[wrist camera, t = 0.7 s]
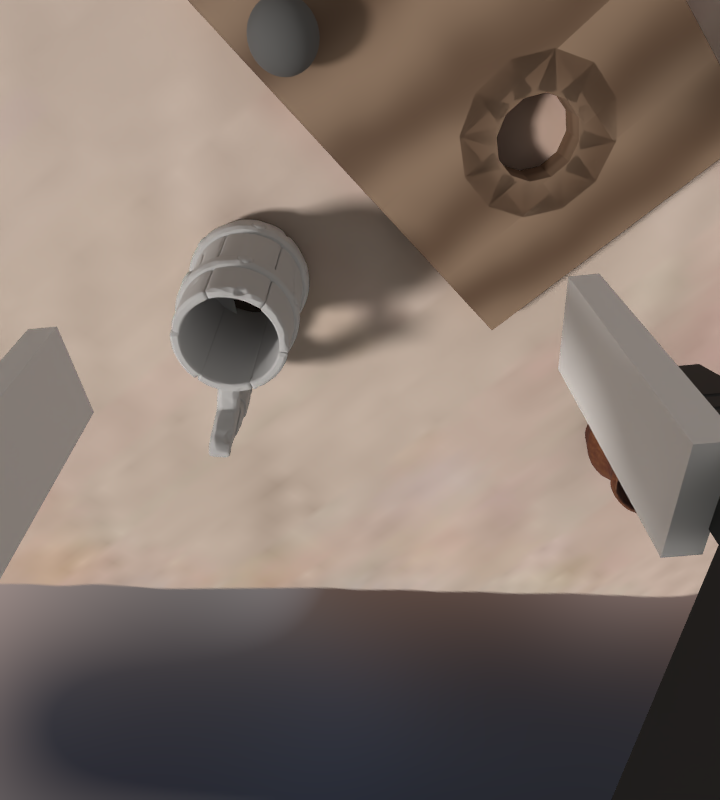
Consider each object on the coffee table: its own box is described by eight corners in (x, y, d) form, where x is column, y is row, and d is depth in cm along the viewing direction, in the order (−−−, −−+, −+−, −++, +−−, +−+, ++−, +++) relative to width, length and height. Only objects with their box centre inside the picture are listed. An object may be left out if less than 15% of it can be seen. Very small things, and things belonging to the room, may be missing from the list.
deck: (122, -85, 30) (105, -90, 28) (396, -497, 23) (400, -543, 21) (485, 313, 43) (492, 330, 41) (731, 123, 36) (754, 132, 34)
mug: (317, 223, 39) (306, 306, 29) (298, 377, 46) (283, 487, 36) (196, 204, 38) (142, 283, 28) (194, 364, 45) (150, 473, 35)
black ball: (237, 31, 31) (225, 37, 28) (284, -27, 29) (277, -27, 27) (288, 88, 32) (282, 98, 29) (335, 35, 31) (333, 41, 28)
